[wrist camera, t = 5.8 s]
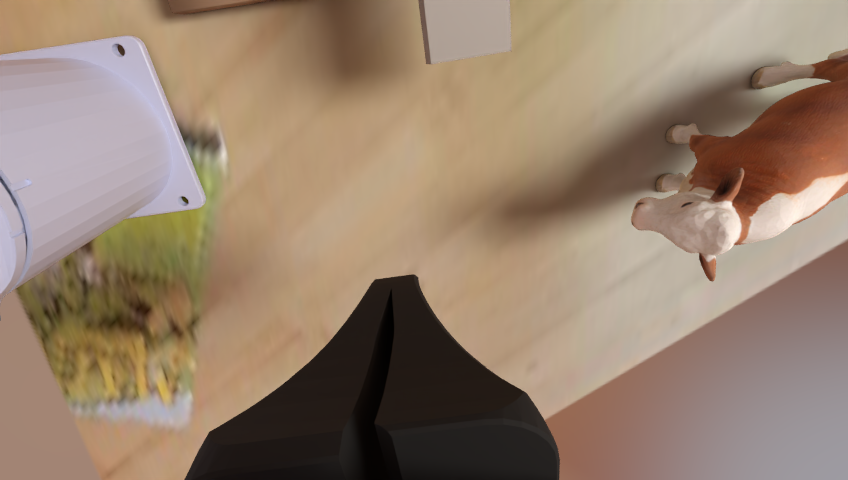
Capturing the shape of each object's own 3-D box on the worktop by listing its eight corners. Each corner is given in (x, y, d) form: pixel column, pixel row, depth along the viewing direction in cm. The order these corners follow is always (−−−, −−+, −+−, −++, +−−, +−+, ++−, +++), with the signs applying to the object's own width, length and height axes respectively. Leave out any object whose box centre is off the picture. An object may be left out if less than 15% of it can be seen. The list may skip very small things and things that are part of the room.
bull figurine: (570, 160, 21) (658, 225, 14) (846, 15, 19) (1133, 0, 11) (597, 226, 23) (688, 314, 16) (852, 102, 20) (1103, 138, 13)
